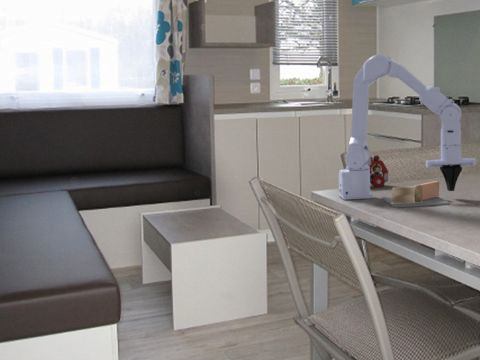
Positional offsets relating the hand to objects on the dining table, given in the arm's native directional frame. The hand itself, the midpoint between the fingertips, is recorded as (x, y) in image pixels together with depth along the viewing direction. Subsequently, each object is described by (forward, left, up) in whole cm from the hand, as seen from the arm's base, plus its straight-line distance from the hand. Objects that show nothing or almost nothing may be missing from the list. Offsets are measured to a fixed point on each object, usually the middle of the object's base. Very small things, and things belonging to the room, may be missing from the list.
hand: (450, 190), depth 210 cm
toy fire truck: (-17, +28, -3) cm, 34 cm away
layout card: (-11, -2, -2) cm, 12 cm away
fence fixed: (-15, -5, -2) cm, 15 cm away
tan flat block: (-7, -1, -2) cm, 7 cm away
